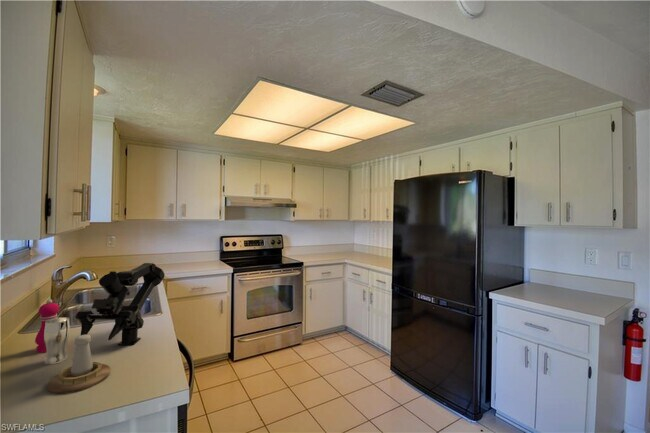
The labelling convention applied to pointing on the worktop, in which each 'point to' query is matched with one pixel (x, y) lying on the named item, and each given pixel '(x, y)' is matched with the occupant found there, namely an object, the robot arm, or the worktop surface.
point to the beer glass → (56, 339)
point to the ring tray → (77, 386)
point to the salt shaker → (82, 356)
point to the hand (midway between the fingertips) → (95, 339)
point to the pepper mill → (46, 313)
